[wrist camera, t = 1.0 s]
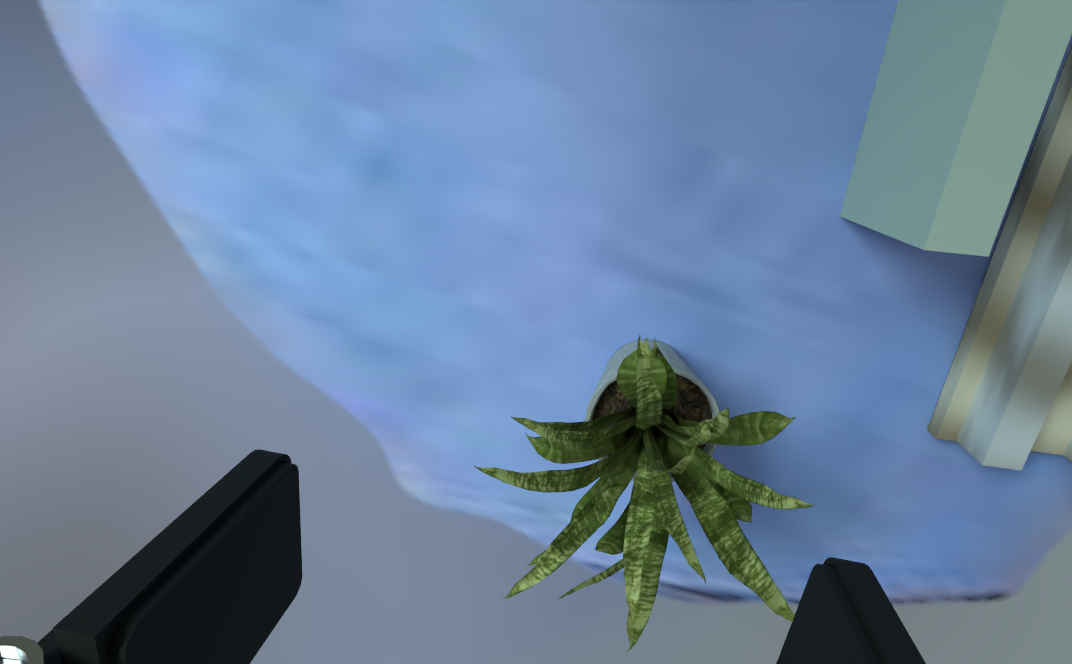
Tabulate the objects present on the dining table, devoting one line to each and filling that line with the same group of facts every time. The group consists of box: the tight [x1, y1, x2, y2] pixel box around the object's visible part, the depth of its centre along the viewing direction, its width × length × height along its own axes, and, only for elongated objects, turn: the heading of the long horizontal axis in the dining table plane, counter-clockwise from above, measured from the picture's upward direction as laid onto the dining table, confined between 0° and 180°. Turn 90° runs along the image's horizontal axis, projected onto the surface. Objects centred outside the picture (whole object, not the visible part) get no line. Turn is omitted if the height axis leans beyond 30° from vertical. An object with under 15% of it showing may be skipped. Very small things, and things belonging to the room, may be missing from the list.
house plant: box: [473, 336, 815, 651], centre depth 27 cm, size 14×14×16 cm
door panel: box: [840, 0, 1072, 257], centre depth 24 cm, size 14×2×9 cm, turn 175°
